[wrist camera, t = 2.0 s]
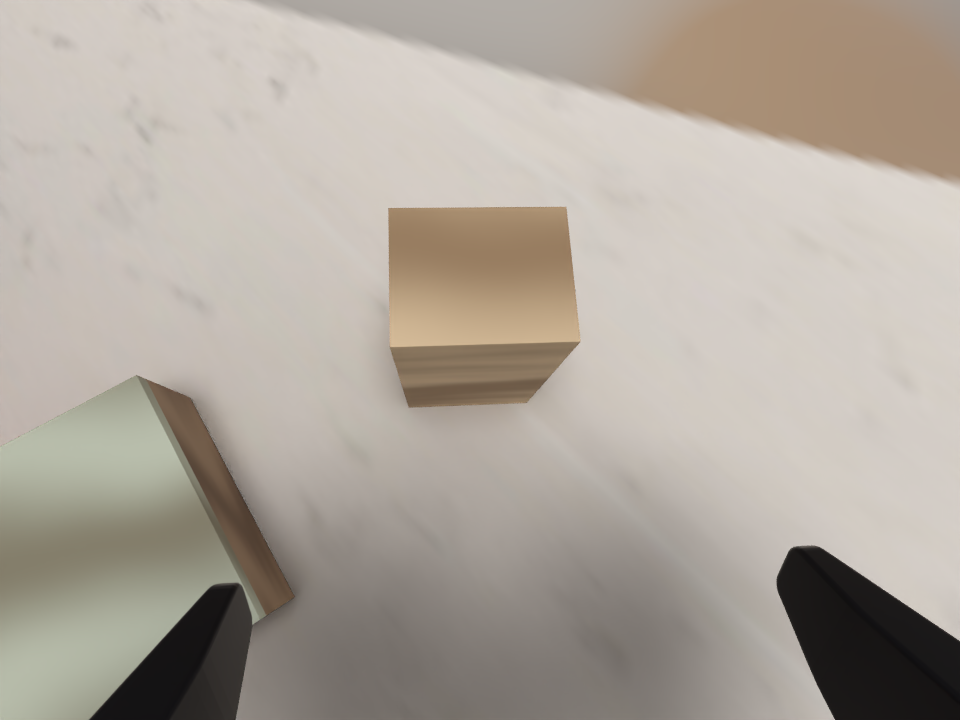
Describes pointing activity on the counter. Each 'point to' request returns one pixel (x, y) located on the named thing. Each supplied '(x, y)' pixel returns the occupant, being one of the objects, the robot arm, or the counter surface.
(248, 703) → the counter surface
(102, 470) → the base brick
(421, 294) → the top brick
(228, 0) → the counter surface
